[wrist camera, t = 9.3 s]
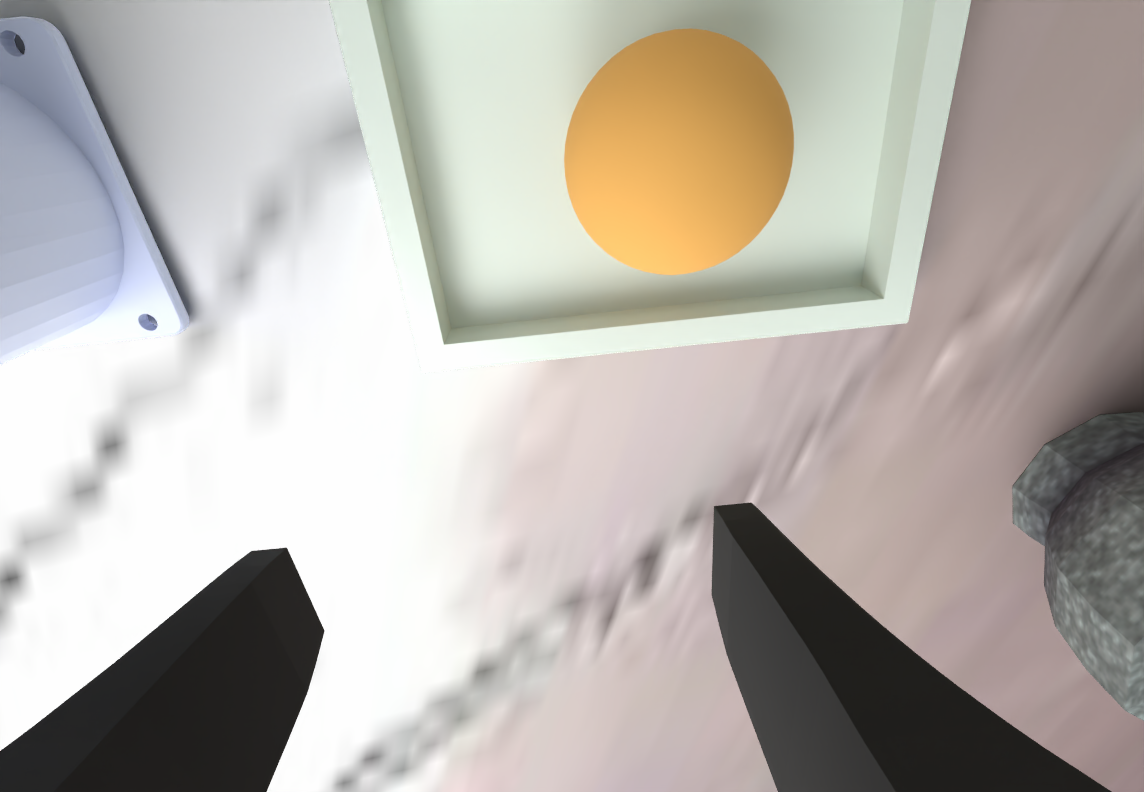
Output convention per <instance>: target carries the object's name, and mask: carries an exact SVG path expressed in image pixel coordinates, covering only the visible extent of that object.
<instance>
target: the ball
mask: <svg viewBox="0 0 1144 792" xmlns="http://www.w3.org/2000/svg"><path fill="white" fill-rule="evenodd" d="M793 153H794V131H793V122H792V117H791V113H790V109H789V105H788V102H787V99H786V97H785V94H784V92H783V89H782V88H781V86H780V84H779V82H778V81H777V79H776V77H775V76H774V74H773V73H772V72H771V70H770V69H769V68H768V67H767V65H766V64H765V63H764V61H763V60H761V59H760V58H759V57H758V56H757V55H756V54H755V53H754V52H753V51H752V50H750V49H749V48H747V47H746V46H744V45H743V44H741V43H740V42H738V41H736V40H734V39H731V38H729V37H727V36H725V35H722V34H719V33H715V32H711V31H708V30H701V29H691V28H690V29H674V30H669V31H665V32H660V33H655V34H652V35H650V36H647V37H645V38H642V39H639V40H638V41H636V42H634V43H632V44H630V45H629V46H627V47H625V48H624V49H622V50H621V51H620V52H618V53H617V54H616V55H614V56H613V57H612V58H611V59H610V60H609V61H608V62H607V63H606V64H605V65H604V66H603V67H602V68H601V69H600V70H599V71H598V72H597V73H596V75H595V76H594V77H593V78H592V80H591V81H590V82H589V84H588V85H587V87H586V88H585V90H584V92H583V93H582V95H581V97H580V98H579V100H578V103H577V105H576V107H575V109H574V112H573V114H572V117H571V121H570V124H569V127H568V131H567V137H566V142H565V154H564V168H565V179H566V184H567V189H568V194H569V197H570V200H571V203H572V206H573V209H574V211H575V213H576V215H577V217H578V219H579V221H580V223H581V224H582V226H583V227H584V229H585V231H586V232H587V233H588V235H589V236H590V237H591V238H592V239H593V240H594V242H595V243H596V244H597V245H599V246H600V247H601V248H602V249H603V250H604V251H605V252H606V253H607V254H609V255H610V256H612V257H613V258H615V259H616V260H618V261H619V262H621V263H623V264H625V265H627V266H629V267H632V268H635V269H638V270H641V271H644V272H649V273H655V274H661V275H679V274H688V273H692V272H697V271H701V270H704V269H707V268H710V267H713V266H715V265H717V264H719V263H721V262H723V261H725V260H727V259H729V258H731V257H732V256H734V255H735V254H737V253H738V252H740V251H741V250H742V249H743V248H744V247H746V246H747V245H748V244H749V243H750V242H751V241H752V240H753V239H754V238H755V237H756V236H757V235H758V234H759V233H760V232H761V231H762V229H763V228H764V227H765V226H766V224H767V223H768V222H769V220H770V219H771V217H772V216H773V214H774V212H775V211H776V209H777V207H778V205H779V203H780V201H781V199H782V197H783V195H784V192H785V189H786V186H787V184H788V181H789V177H790V172H791V168H792V162H793Z"/></svg>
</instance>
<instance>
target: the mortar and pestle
mask: <svg viewBox="0 0 1144 792" xmlns="http://www.w3.org/2000/svg"><path fill="white" fill-rule="evenodd" d="M1013 524H1015V525H1016V526H1017V527H1018V528H1020V529H1021V530H1022V531H1023V532H1025V533H1026V534H1027V535H1028V536H1030V537H1031V538H1033V539H1034V540H1036V541H1037V542H1039V543H1040V544H1042V545H1043V546H1045V567H1044V587H1045V590H1046V594H1047V598H1048V601H1049V605H1050V609H1051V612H1052V616H1053V620H1054V623H1055V626H1056V628H1057V629H1058V631H1059V632H1060V633H1061V635H1062V636H1063V638H1064V639H1065V640H1066V642H1067V643H1068V645H1069V646H1070V647H1071V649H1072V650H1073V652H1074V653H1075V654H1076V656H1077V657H1078V659H1079V660H1080V661H1081V663H1082V664H1083V666H1084V667H1085V668H1086V670H1087V671H1088V672H1089V673H1090V674H1091V675H1092V676H1093V677H1094V678H1095V679H1096V680H1097V681H1098V682H1099V684H1100V685H1101V686H1102V687H1103V688H1104V689H1105V690H1106V691H1107V692H1108V693H1109V694H1110V695H1111V696H1112V697H1113V698H1114V699H1115V700H1116V701H1117V703H1118V704H1119V705H1120V706H1121V707H1122V708H1123V709H1124V710H1125V711H1127V712H1129V713H1131V714H1132V715H1134V716H1136V717H1138V718H1140V719H1142V720H1143V721H1144V412H1135V413H1120V414H1104V415H1099V416H1097V417H1095V418H1093V419H1091V420H1089V421H1087V422H1086V423H1084V424H1082V425H1080V426H1078V427H1076V428H1075V429H1073V430H1071V431H1069V432H1067V433H1065V434H1063V435H1062V436H1060V437H1058V438H1056V439H1054V440H1052V441H1051V442H1049V443H1047V444H1045V445H1044V446H1043V448H1042V449H1041V450H1040V452H1039V453H1038V454H1037V455H1036V457H1035V458H1034V459H1033V461H1032V462H1031V463H1030V464H1029V466H1028V467H1027V468H1026V470H1025V471H1024V472H1023V473H1022V475H1021V476H1020V477H1019V479H1018V480H1017V481H1016V483H1015V484H1014V485H1013Z"/></svg>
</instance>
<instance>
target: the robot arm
mask: <svg viewBox="0 0 1144 792" xmlns="http://www.w3.org/2000/svg"><path fill="white" fill-rule="evenodd" d="M16 34H17V35H19V37H20V38H21V39H22V41H23V42H24V46H25V52H24V55H23V54H22V53H20V51H19V50H18V49H17V47H16V44H15V41H14V39H15V36H16ZM147 314H149V315H151V316H152V317H154V318H155V320H156V321H157V325H158V326H156V325H154V324H152V323H151V322H150V321H149V320H148V317H147ZM188 325H189V317H188V314H187V311H186V309H185V307H184V305H183V303H182V300H181V298H180V296H179V294H178V291H177V289H176V287H175V285H174V282H173V280H172V278H171V276H170V273H169V271H168V269H167V267H166V264H165V262H164V260H163V258H162V255H161V253H160V251H159V249H158V247H157V244H156V242H155V240H154V238H153V235H152V233H151V231H150V229H149V226H148V224H147V222H146V220H145V217H144V215H143V213H142V211H141V208H140V206H139V204H138V202H137V200H136V197H135V195H134V193H133V191H132V188H131V186H130V184H129V182H128V179H127V177H126V175H125V173H124V170H123V168H122V166H121V164H120V161H119V159H118V157H117V155H116V152H115V150H114V148H113V146H112V144H111V141H110V139H109V137H108V135H107V132H106V130H105V128H104V126H103V123H102V121H101V119H100V117H99V114H98V112H97V110H96V108H95V105H94V103H93V101H92V99H91V97H90V94H89V92H88V90H87V88H86V85H85V83H84V81H83V79H82V76H81V74H80V72H79V70H78V67H77V65H76V63H75V61H74V58H73V56H72V54H71V52H70V49H69V47H68V45H67V43H66V41H65V39H64V37H63V36H62V34H61V32H60V31H59V30H58V29H57V28H56V27H55V26H54V25H53V24H51V23H49V22H48V21H46V20H44V19H40V18H34V17H26V16H20V17H11V18H3V19H0V365H2V364H4V363H7V362H9V361H11V360H13V359H15V358H17V357H19V356H22V355H24V354H26V353H28V352H30V351H33V350H43V349H52V348H62V347H71V346H81V345H90V344H100V343H109V342H119V341H128V340H138V339H147V338H157V337H166V336H174V335H177V334H179V333H181V332H183V331H184V330H185V329H186V328H187V327H188ZM712 598H713V602H714V606H715V610H716V614H717V618H718V622H719V626H720V630H721V634H722V638H723V641H724V645H725V649H726V653H727V656H728V659H729V661H730V664H731V667H732V670H733V672H734V675H735V678H736V681H737V683H738V686H739V689H740V691H741V694H742V697H743V699H744V702H745V705H746V708H747V710H748V713H749V716H750V718H751V721H752V724H753V726H754V729H755V732H756V734H757V737H758V740H759V742H760V745H761V748H762V750H763V753H764V756H765V758H766V761H767V764H768V766H769V769H770V772H771V774H772V777H773V780H774V782H775V785H776V788H777V790H778V792H1111V791H1110V790H1108V789H1107V788H1105V787H1104V786H1102V785H1101V784H1099V783H1097V782H1096V781H1094V780H1093V779H1091V778H1090V777H1088V776H1087V775H1085V774H1084V773H1082V772H1081V771H1079V770H1078V769H1076V768H1074V767H1073V766H1071V765H1070V764H1068V763H1067V762H1065V761H1064V760H1062V759H1061V758H1059V757H1058V756H1056V755H1054V754H1053V753H1051V752H1050V751H1048V750H1047V749H1045V748H1044V747H1042V746H1041V745H1039V744H1038V743H1037V742H1035V741H1034V740H1032V739H1031V738H1029V737H1028V736H1026V735H1025V734H1023V733H1022V732H1021V731H1019V730H1018V729H1016V728H1015V727H1013V726H1012V725H1010V724H1009V723H1008V722H1006V721H1005V720H1003V719H1002V718H1001V717H999V716H998V715H997V714H995V713H994V712H992V711H991V710H990V709H988V708H987V707H986V706H984V705H983V704H982V703H980V702H979V701H977V700H976V699H975V698H973V697H972V696H971V695H969V694H968V693H967V692H965V691H964V690H962V689H961V688H960V687H958V686H957V685H956V684H954V683H953V682H952V681H950V680H949V679H948V678H947V677H945V676H944V675H943V674H941V673H940V672H939V671H938V670H936V669H935V668H934V667H932V666H931V665H930V664H929V663H927V662H926V661H925V660H924V659H922V658H921V657H920V656H919V655H917V654H916V653H915V652H914V651H912V650H911V649H910V648H909V647H908V646H906V645H905V644H904V643H903V642H902V641H900V640H899V639H898V638H897V637H896V636H894V635H893V634H892V633H891V632H889V631H888V630H887V629H886V628H885V627H883V626H882V625H881V624H880V623H879V622H878V621H876V620H875V619H874V618H873V617H872V616H871V615H870V614H868V613H867V612H866V611H865V610H864V609H863V608H861V607H860V606H859V605H858V604H857V603H856V602H855V601H854V600H853V599H851V598H850V597H849V596H848V595H847V594H846V593H845V592H844V591H843V590H842V589H840V588H839V587H838V586H837V585H836V584H835V583H834V582H833V581H832V580H831V579H829V578H828V577H827V576H826V575H825V574H824V573H823V572H822V571H821V570H820V569H819V568H818V567H817V566H815V565H814V564H813V563H812V562H811V561H810V560H809V559H808V558H807V557H806V556H805V555H804V554H803V553H802V552H801V551H800V550H799V549H798V548H797V547H796V546H795V545H794V544H793V543H792V542H791V541H790V540H789V539H788V538H787V537H786V536H785V535H784V534H783V533H782V532H781V531H780V530H779V529H778V528H777V527H776V526H775V525H774V524H773V523H772V522H771V521H770V520H769V519H768V518H767V517H766V516H765V515H764V514H763V513H762V512H761V511H760V510H759V509H758V508H757V507H756V506H754V505H753V504H752V503H743V504H732V505H722V506H714V528H713V565H712ZM323 634H324V629H323V627H322V624H321V622H320V620H319V618H318V616H317V613H316V611H315V609H314V607H313V605H312V602H311V600H310V598H309V596H308V594H307V591H306V589H305V587H304V585H303V582H302V580H301V578H300V576H299V574H298V571H297V569H296V567H295V565H294V563H293V560H292V558H291V556H290V554H289V552H288V549H287V548H279V549H269V550H258V551H251V552H250V553H248V554H247V555H246V556H244V557H243V558H242V559H240V560H239V561H238V562H236V563H235V564H234V565H232V566H231V567H230V568H229V569H227V570H226V571H225V572H224V573H222V574H221V575H220V576H219V577H217V578H216V579H215V580H214V581H213V582H211V583H210V584H209V585H208V586H206V587H205V588H204V589H203V590H202V591H200V592H199V593H198V594H197V595H196V596H194V597H193V598H192V599H191V600H190V601H188V602H187V603H186V604H185V605H184V606H182V607H181V608H180V609H179V610H178V611H176V612H175V613H174V614H173V615H172V616H170V617H169V618H168V619H167V620H166V621H164V622H163V623H162V624H161V625H160V626H158V627H157V628H156V629H155V630H154V631H152V632H151V633H150V634H149V635H148V636H146V637H145V638H144V639H143V640H141V641H140V642H139V643H138V644H137V645H135V646H134V647H133V648H132V649H131V650H129V651H128V652H127V653H126V654H125V655H123V656H122V657H121V658H120V659H118V660H117V661H116V662H115V663H114V664H112V665H111V666H110V667H108V668H107V669H106V670H105V671H103V672H102V673H101V674H100V675H98V676H97V677H96V678H94V679H93V680H92V681H91V682H89V683H88V684H87V685H86V686H84V687H83V688H82V689H80V690H79V691H78V692H77V693H75V694H74V695H73V696H71V697H70V698H69V699H68V700H66V701H65V702H64V703H63V704H61V705H60V706H59V707H57V708H56V709H55V710H54V711H52V712H51V713H50V714H49V715H47V716H46V717H45V718H43V719H42V720H41V721H40V722H38V723H37V724H36V725H35V726H33V727H32V728H31V729H29V730H28V731H27V732H25V733H24V734H23V735H21V736H20V737H19V738H17V739H16V740H15V741H13V742H12V743H11V744H9V745H8V746H6V747H5V748H4V749H2V750H1V751H0V792H266V791H267V789H268V787H269V784H270V782H271V779H272V777H273V775H274V772H275V770H276V768H277V765H278V763H279V760H280V758H281V756H282V753H283V751H284V749H285V746H286V744H287V741H288V739H289V736H290V734H291V732H292V729H293V727H294V724H295V722H296V719H297V717H298V715H299V712H300V710H301V707H302V705H303V702H304V700H305V697H306V695H307V692H308V688H309V685H310V682H311V678H312V675H313V672H314V668H315V665H316V661H317V657H318V654H319V650H320V646H321V642H322V638H323Z"/></svg>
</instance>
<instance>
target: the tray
mask: <svg viewBox="0 0 1144 792" xmlns="http://www.w3.org/2000/svg"><path fill="white" fill-rule="evenodd" d="M329 3H330V7H331V11H332V15H333V19H334V23H335V27H336V31H337V35H338V39H339V43H340V47H341V51H342V55H343V59H344V63H345V67H346V71H347V75H348V79H349V83H350V87H351V91H352V95H353V99H354V103H355V107H356V111H357V115H358V119H359V123H360V127H361V131H362V135H363V139H364V143H365V147H366V151H367V155H368V159H369V163H370V167H371V171H372V175H373V179H374V183H375V187H376V191H377V195H378V199H379V203H380V207H381V211H382V215H383V219H384V223H385V226H386V230H387V234H388V238H389V242H390V246H391V250H392V254H393V258H394V262H395V266H396V270H397V274H398V278H399V282H400V286H401V290H402V294H403V298H404V302H405V306H406V310H407V314H408V318H409V322H410V326H411V330H412V334H413V338H414V342H415V346H416V350H417V354H418V358H419V362H420V366H421V370H422V373H427V372H437V371H447V370H456V369H466V368H476V367H486V366H495V365H505V364H515V363H524V362H534V361H544V360H553V359H563V358H573V357H583V356H592V355H602V354H612V353H621V352H631V351H641V350H651V349H660V348H670V347H680V346H689V345H699V344H709V343H718V342H728V341H738V340H748V339H757V338H767V337H777V336H786V335H796V334H806V333H816V332H825V331H835V330H845V329H854V328H864V327H874V326H883V325H893V324H903V323H908V319H909V314H910V309H911V304H912V299H913V294H914V289H915V284H916V279H917V274H918V269H919V263H920V258H921V253H922V248H923V243H924V238H925V233H926V228H927V223H928V218H929V213H930V207H931V202H932V197H933V192H934V187H935V182H936V177H937V172H938V167H939V162H940V157H941V152H942V146H943V141H944V136H945V131H946V126H947V121H948V116H949V111H950V106H951V101H952V96H953V90H954V85H955V80H956V75H957V70H958V65H959V60H960V55H961V50H962V45H963V40H964V35H965V29H966V24H967V19H968V14H969V9H970V4H971V0H329ZM690 28H691V29H701V30H708V31H711V32H715V33H719V34H722V35H725V36H727V37H729V38H731V39H734V40H736V41H738V42H740V43H741V44H743V45H744V46H746V47H747V48H749V49H750V50H752V51H753V52H754V53H755V54H756V55H757V56H758V57H759V58H760V59H761V60H763V61H764V63H765V64H766V65H767V67H768V68H769V69H770V70H771V72H772V73H773V74H774V76H775V77H776V79H777V81H778V82H779V84H780V86H781V88H782V89H783V92H784V94H785V97H786V99H787V102H788V105H789V109H790V113H791V117H792V122H793V131H794V153H793V162H792V168H791V172H790V177H789V181H788V184H787V186H786V189H785V192H784V195H783V197H782V199H781V201H780V203H779V205H778V207H777V209H776V211H775V212H774V214H773V216H772V217H771V219H770V220H769V222H768V223H767V224H766V226H765V227H764V228H763V229H762V231H761V232H760V233H759V234H758V235H757V236H756V237H755V238H754V239H753V240H752V241H751V242H750V243H749V244H748V245H747V246H746V247H744V248H743V249H742V250H741V251H740V252H738V253H737V254H735V255H734V256H732V257H731V258H729V259H727V260H725V261H723V262H721V263H719V264H717V265H715V266H713V267H710V268H707V269H704V270H701V271H697V272H692V273H688V274H679V275H661V274H655V273H649V272H644V271H641V270H638V269H635V268H632V267H629V266H627V265H625V264H623V263H621V262H619V261H618V260H616V259H615V258H613V257H612V256H610V255H609V254H607V253H606V252H605V251H604V250H603V249H602V248H601V247H600V246H599V245H597V244H596V243H595V242H594V240H593V239H592V238H591V237H590V236H589V235H588V233H587V232H586V231H585V229H584V227H583V226H582V224H581V223H580V221H579V219H578V217H577V215H576V213H575V211H574V209H573V206H572V203H571V200H570V197H569V194H568V189H567V184H566V179H565V168H564V154H565V142H566V137H567V131H568V127H569V124H570V121H571V117H572V114H573V112H574V109H575V107H576V105H577V103H578V100H579V98H580V97H581V95H582V93H583V92H584V90H585V88H586V87H587V85H588V84H589V82H590V81H591V80H592V78H593V77H594V76H595V75H596V73H597V72H598V71H599V70H600V69H601V68H602V67H603V66H604V65H605V64H606V63H607V62H608V61H609V60H610V59H611V58H612V57H613V56H614V55H616V54H617V53H618V52H620V51H621V50H622V49H624V48H625V47H627V46H629V45H630V44H632V43H634V42H636V41H638V40H639V39H642V38H645V37H647V36H650V35H652V34H655V33H660V32H665V31H669V30H674V29H690Z"/></svg>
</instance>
